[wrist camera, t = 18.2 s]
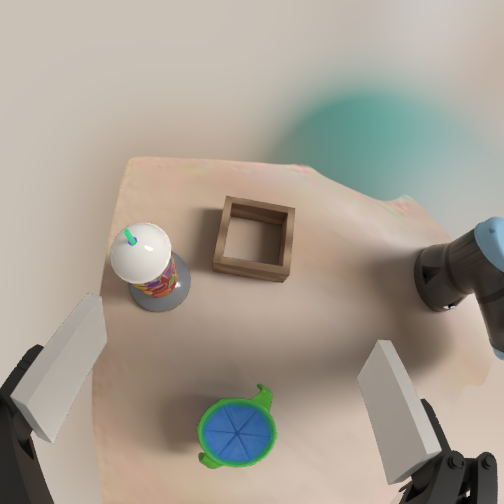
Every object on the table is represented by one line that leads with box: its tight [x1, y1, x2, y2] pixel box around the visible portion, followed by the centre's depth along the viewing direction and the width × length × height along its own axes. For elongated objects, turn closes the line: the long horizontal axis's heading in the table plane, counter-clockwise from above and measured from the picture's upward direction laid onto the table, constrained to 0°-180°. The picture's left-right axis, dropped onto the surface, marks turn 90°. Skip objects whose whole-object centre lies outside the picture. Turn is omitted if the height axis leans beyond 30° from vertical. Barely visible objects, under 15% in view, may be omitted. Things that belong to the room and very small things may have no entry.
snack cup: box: [197, 384, 277, 469], centre depth 37 cm, size 16×11×10 cm
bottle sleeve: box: [213, 196, 295, 283], centre depth 51 cm, size 12×12×5 cm
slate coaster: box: [129, 252, 190, 312], centre depth 48 cm, size 11×11×1 cm
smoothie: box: [110, 222, 177, 298], centre depth 38 cm, size 8×8×20 cm
